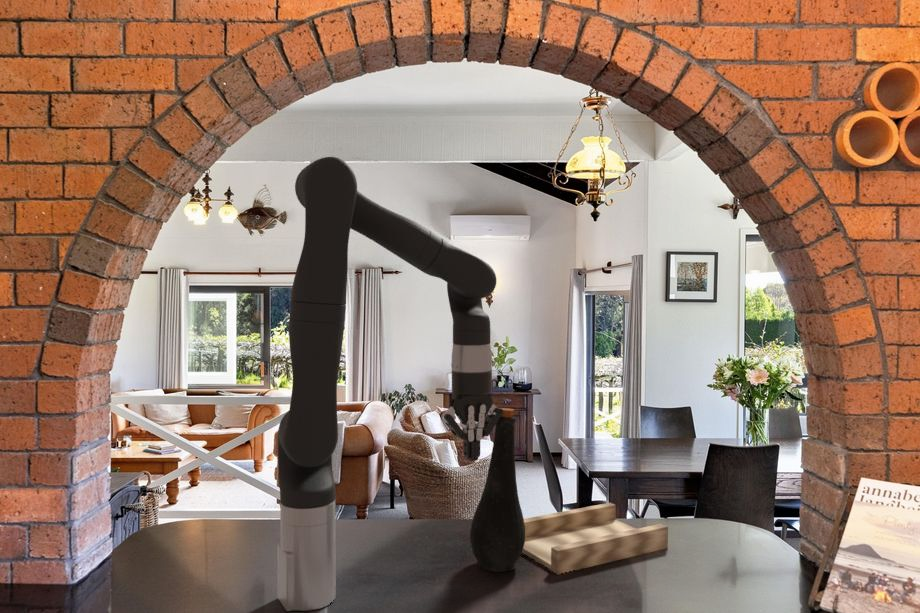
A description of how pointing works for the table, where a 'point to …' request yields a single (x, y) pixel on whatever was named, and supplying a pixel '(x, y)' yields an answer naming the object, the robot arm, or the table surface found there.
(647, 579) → the table surface
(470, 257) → the robot arm
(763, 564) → the table surface
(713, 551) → the table surface
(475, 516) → the bottle
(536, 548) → the trough
